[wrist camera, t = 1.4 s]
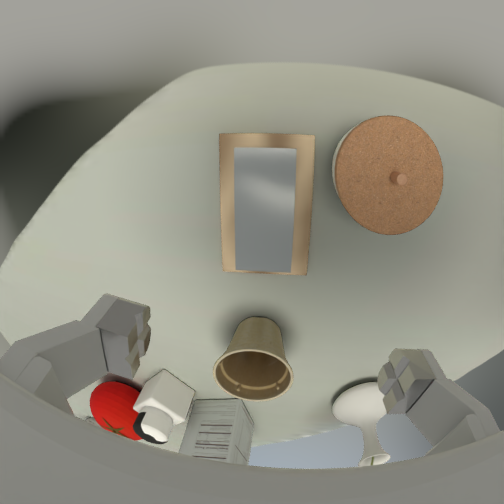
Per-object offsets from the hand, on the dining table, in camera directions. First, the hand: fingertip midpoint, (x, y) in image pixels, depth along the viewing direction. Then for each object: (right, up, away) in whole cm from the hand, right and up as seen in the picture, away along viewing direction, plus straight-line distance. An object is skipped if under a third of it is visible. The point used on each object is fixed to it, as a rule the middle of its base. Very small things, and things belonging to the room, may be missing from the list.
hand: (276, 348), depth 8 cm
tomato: (-26, -27, +41) cm, 55 cm away
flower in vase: (+18, -23, +34) cm, 45 cm away
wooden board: (+1, +8, +23) cm, 24 cm away
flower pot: (0, -8, +30) cm, 31 cm away
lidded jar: (+12, +12, +20) cm, 27 cm away
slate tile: (+1, +8, +22) cm, 23 cm away
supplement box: (-6, -27, +39) cm, 48 cm away
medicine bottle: (-16, -21, +37) cm, 46 cm away
